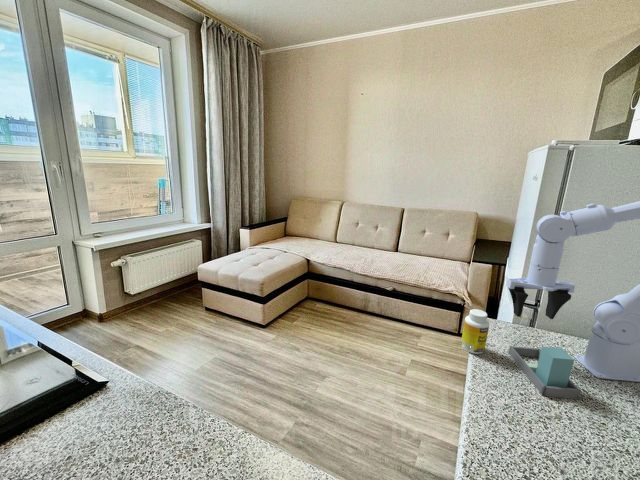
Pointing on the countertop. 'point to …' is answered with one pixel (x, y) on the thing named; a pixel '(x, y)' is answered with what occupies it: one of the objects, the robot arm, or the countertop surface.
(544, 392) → the caddy
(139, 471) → the countertop surface
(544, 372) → the plug
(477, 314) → the supplement bottle
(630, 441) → the countertop surface
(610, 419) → the countertop surface
